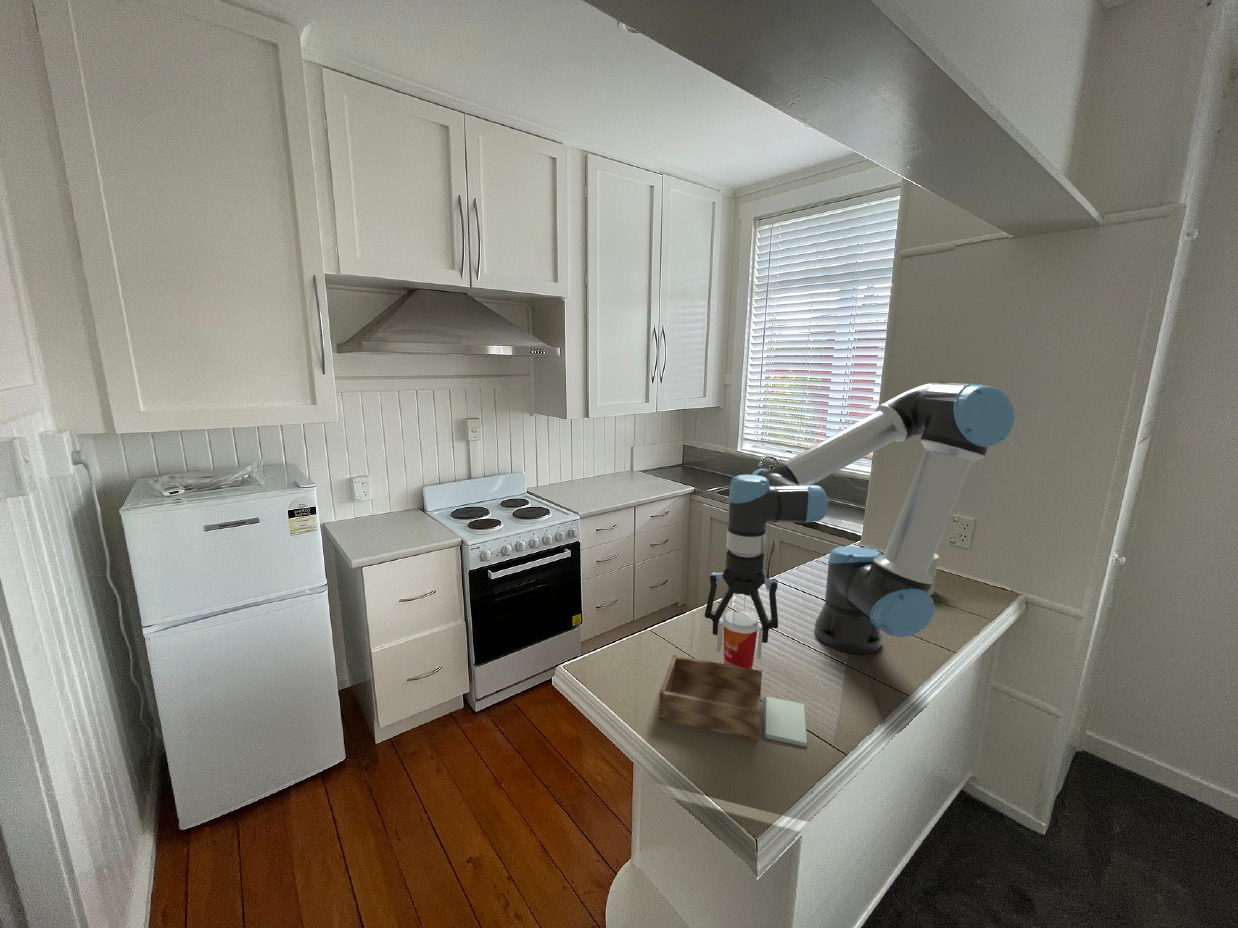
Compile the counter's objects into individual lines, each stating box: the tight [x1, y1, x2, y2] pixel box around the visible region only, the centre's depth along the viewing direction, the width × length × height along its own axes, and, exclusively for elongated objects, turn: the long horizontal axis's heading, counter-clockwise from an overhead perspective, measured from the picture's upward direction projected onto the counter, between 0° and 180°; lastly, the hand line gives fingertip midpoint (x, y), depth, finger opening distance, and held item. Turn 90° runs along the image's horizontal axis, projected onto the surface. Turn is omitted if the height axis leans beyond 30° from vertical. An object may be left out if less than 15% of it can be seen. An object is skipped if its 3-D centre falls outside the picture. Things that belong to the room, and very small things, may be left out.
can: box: [928, 552, 940, 596], centre depth 153 cm, size 9×9×12 cm
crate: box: [658, 654, 763, 741], centre depth 98 cm, size 18×13×6 cm
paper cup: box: [722, 610, 760, 669], centre depth 108 cm, size 8×8×14 cm
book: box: [761, 696, 808, 748], centre depth 95 cm, size 2×11×8 cm
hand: (738, 651), depth 108 cm, fingers closed on paper cup, 8 cm apart
